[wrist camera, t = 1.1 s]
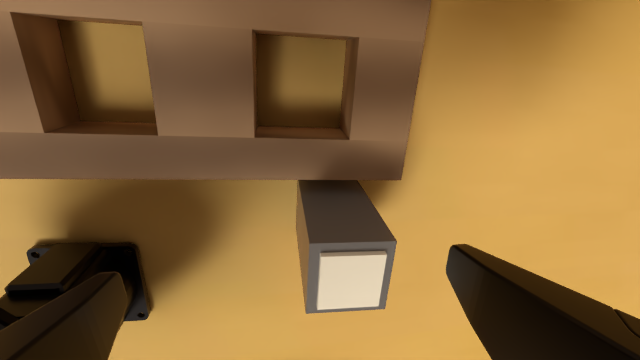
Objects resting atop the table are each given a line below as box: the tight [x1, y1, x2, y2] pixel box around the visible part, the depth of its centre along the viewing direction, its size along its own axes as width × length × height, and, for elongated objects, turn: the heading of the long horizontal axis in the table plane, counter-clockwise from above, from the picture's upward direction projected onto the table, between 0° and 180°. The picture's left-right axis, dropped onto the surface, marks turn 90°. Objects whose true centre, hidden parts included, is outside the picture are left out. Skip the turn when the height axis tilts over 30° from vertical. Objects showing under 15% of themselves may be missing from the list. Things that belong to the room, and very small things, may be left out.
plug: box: [296, 180, 397, 314], centre depth 18 cm, size 4×4×8 cm
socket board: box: [0, 0, 431, 180], centre depth 15 cm, size 14×22×4 cm, turn 87°
